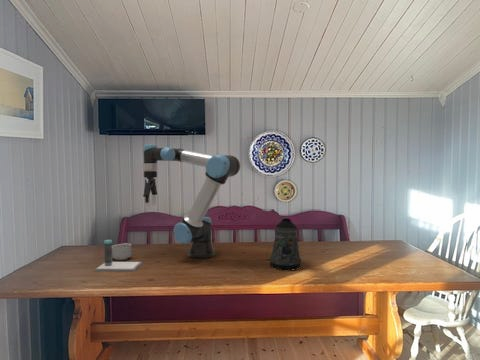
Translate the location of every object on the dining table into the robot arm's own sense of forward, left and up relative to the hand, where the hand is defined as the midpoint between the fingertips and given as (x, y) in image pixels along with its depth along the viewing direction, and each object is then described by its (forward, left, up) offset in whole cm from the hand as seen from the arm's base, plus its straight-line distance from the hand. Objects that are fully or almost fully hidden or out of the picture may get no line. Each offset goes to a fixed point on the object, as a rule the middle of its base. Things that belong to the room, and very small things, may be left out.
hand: (150, 206), depth 207 cm
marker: (+16, +25, -28) cm, 40 cm away
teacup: (+14, +8, -29) cm, 33 cm away
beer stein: (-77, +20, -29) cm, 85 cm away
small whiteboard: (+10, +25, -29) cm, 39 cm away
